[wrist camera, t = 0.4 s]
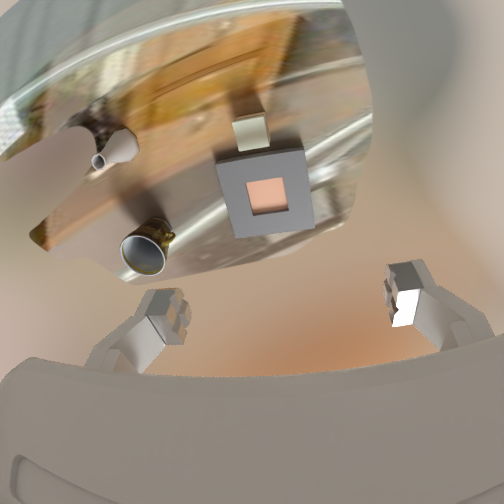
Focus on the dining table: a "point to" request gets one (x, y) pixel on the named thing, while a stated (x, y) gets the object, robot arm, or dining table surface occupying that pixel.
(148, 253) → the ceramic cup
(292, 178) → the pocket plate
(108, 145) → the flask
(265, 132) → the faceted block
